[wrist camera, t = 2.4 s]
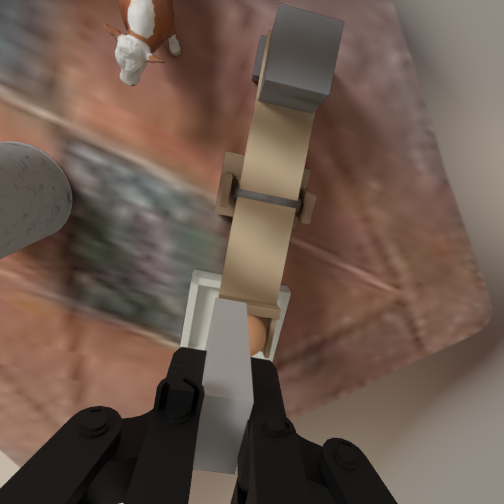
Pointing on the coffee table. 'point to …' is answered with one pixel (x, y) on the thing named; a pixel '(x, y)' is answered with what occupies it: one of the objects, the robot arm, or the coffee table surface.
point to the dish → (202, 307)
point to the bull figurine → (143, 36)
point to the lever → (277, 158)
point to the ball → (256, 334)
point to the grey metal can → (30, 196)
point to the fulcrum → (232, 178)
